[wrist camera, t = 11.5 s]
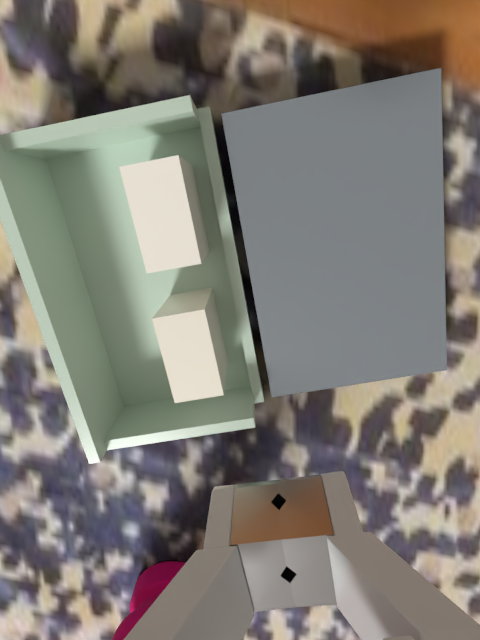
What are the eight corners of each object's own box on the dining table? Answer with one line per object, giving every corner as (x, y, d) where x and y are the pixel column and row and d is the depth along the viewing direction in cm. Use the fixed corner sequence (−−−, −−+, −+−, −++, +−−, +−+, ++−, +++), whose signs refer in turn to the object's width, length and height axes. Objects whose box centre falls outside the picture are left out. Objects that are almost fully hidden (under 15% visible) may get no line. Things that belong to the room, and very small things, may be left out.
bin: (211, 113, 19) (201, 84, 14) (262, 389, 24) (267, 436, 19) (35, 149, 20) (-31, 134, 15) (119, 412, 25) (89, 463, 20)
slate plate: (421, 81, 19) (441, 67, 17) (430, 355, 23) (446, 369, 21) (223, 121, 19) (221, 113, 17) (269, 381, 24) (271, 397, 22)
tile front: (178, 154, 15) (119, 166, 15) (201, 263, 17) (146, 273, 17) (192, 164, 20) (146, 173, 20) (209, 250, 21) (166, 258, 21)
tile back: (204, 309, 17) (151, 318, 17) (223, 395, 19) (174, 403, 19) (212, 287, 22) (169, 295, 22) (227, 358, 23) (187, 365, 23)
